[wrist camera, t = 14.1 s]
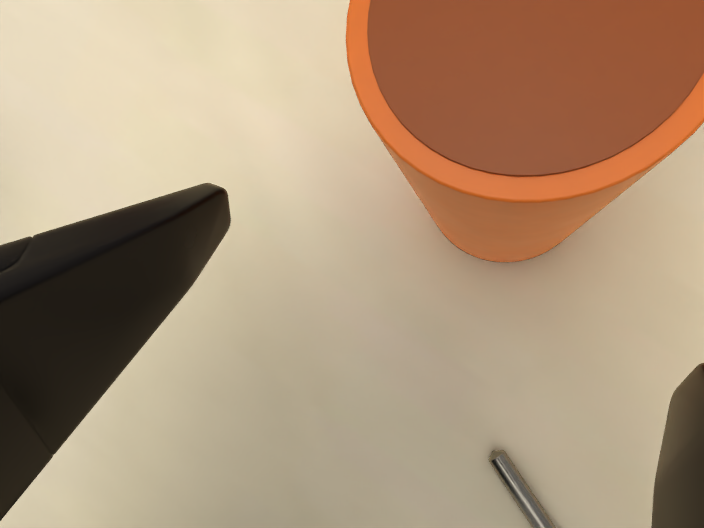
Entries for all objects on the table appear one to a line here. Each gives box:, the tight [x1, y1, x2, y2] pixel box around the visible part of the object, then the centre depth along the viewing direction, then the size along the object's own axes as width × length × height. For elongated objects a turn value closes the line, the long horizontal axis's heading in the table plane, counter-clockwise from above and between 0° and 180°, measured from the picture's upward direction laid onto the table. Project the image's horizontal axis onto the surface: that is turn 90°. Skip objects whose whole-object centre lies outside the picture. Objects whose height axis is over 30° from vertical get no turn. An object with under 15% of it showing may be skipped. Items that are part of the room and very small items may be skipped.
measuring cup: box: [346, 0, 704, 262], centre depth 14 cm, size 13×6×13 cm, turn 158°
